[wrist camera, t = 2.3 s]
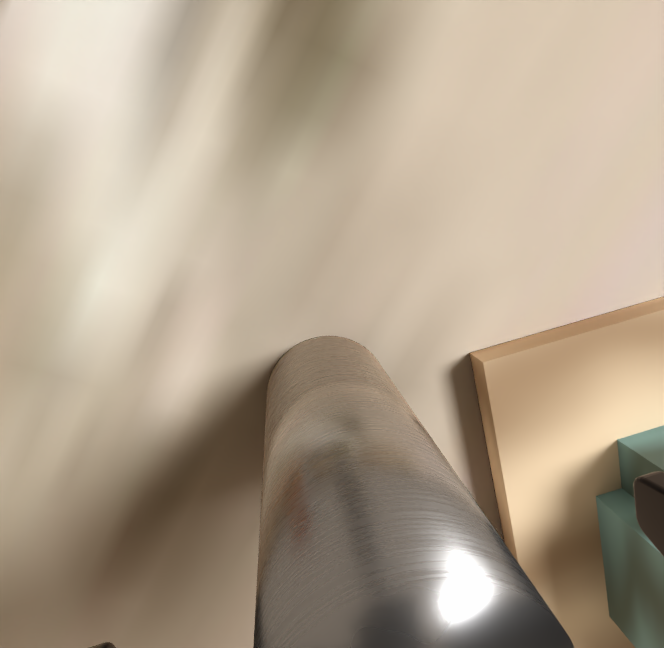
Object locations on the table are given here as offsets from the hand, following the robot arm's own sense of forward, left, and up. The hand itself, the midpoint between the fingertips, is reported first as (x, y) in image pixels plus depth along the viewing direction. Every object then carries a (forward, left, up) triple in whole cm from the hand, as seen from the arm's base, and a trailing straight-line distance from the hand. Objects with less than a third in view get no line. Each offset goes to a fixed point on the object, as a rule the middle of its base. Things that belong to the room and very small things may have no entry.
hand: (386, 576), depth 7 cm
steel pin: (0, 0, -8) cm, 8 cm away
